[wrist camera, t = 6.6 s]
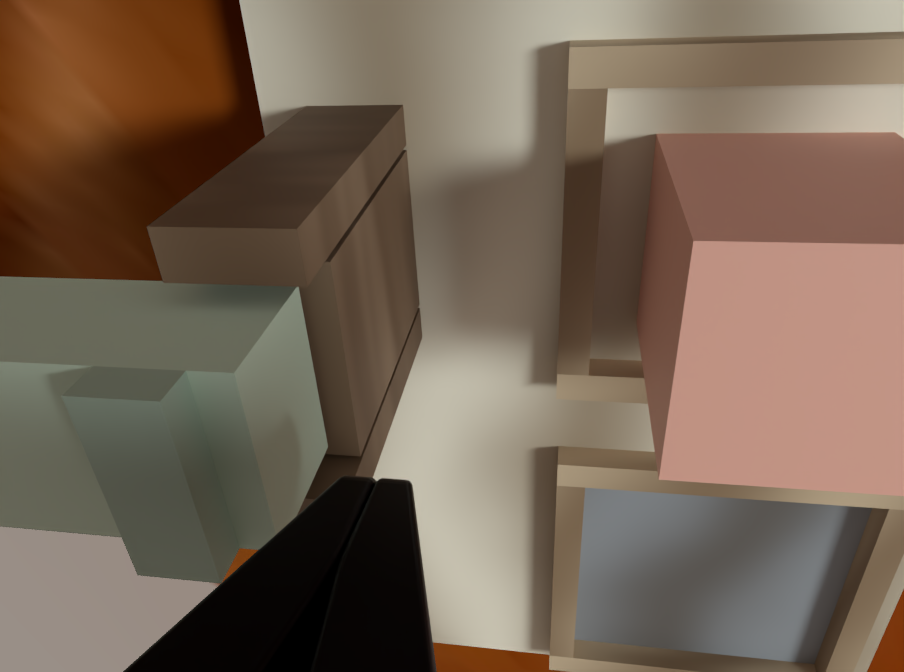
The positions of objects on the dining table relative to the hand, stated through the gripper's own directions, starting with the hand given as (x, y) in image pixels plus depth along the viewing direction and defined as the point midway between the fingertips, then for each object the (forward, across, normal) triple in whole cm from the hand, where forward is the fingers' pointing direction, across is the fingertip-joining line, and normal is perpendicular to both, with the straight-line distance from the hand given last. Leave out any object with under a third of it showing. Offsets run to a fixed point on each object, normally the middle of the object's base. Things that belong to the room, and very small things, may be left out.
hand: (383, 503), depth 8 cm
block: (+8, -6, 0) cm, 10 cm away
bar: (+3, +7, 0) cm, 8 cm away
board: (+9, -3, +5) cm, 11 cm away
